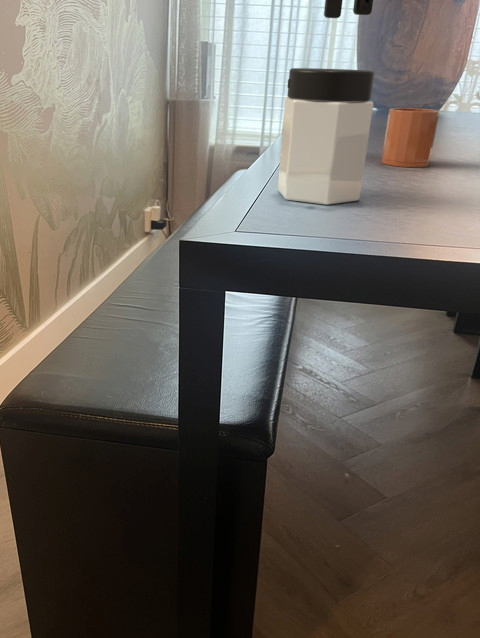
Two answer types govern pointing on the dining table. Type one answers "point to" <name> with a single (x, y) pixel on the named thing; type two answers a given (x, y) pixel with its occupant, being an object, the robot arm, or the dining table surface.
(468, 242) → the dining table surface
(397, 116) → the pot
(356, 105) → the jar
